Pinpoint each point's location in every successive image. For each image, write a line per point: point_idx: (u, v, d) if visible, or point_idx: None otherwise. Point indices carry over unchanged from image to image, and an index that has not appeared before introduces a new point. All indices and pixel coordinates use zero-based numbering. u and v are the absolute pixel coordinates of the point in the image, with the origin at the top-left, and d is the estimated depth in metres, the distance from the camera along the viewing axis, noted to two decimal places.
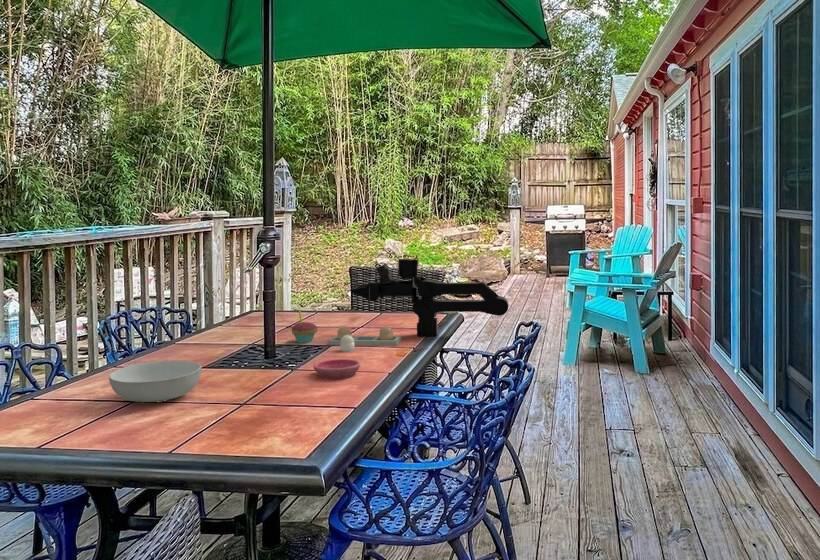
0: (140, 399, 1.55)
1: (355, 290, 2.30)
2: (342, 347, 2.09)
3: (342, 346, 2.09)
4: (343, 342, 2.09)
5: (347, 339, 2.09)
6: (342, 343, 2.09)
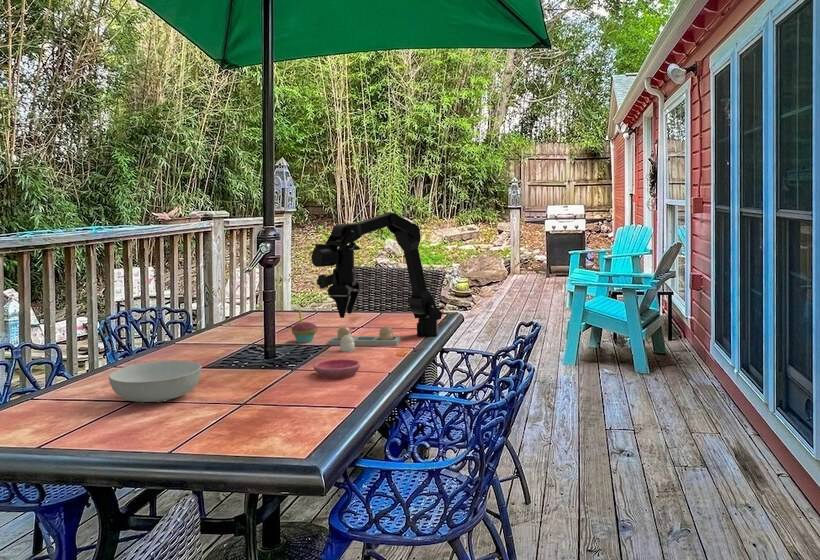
0: (140, 399, 1.55)
1: (340, 312, 2.05)
2: (342, 347, 2.09)
3: (342, 346, 2.09)
4: (343, 342, 2.09)
5: (347, 339, 2.09)
6: (342, 343, 2.09)
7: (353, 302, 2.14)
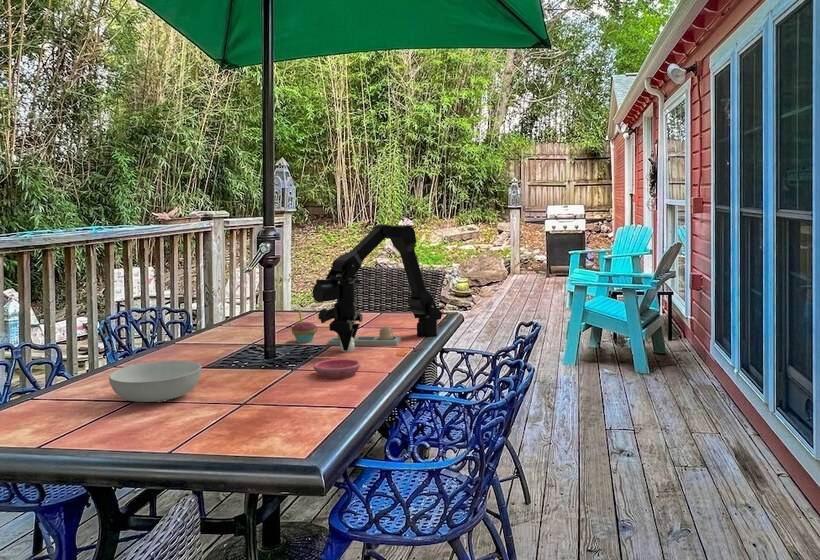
0: (140, 399, 1.55)
1: (344, 345, 2.08)
2: (342, 347, 2.09)
3: (342, 346, 2.09)
4: None
5: None
6: None
7: (353, 336, 2.13)
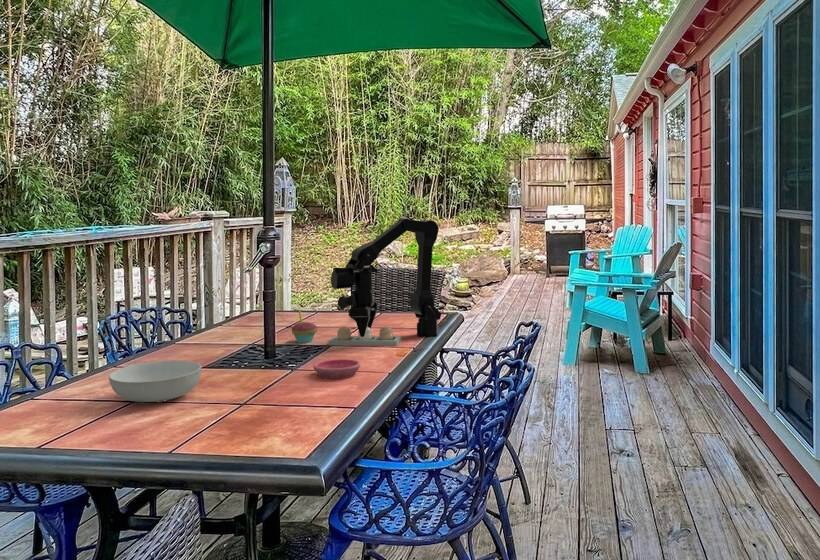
0: (140, 399, 1.55)
1: (361, 332, 2.17)
2: (360, 337, 2.21)
3: (360, 337, 2.21)
4: None
5: None
6: None
7: (371, 321, 2.26)
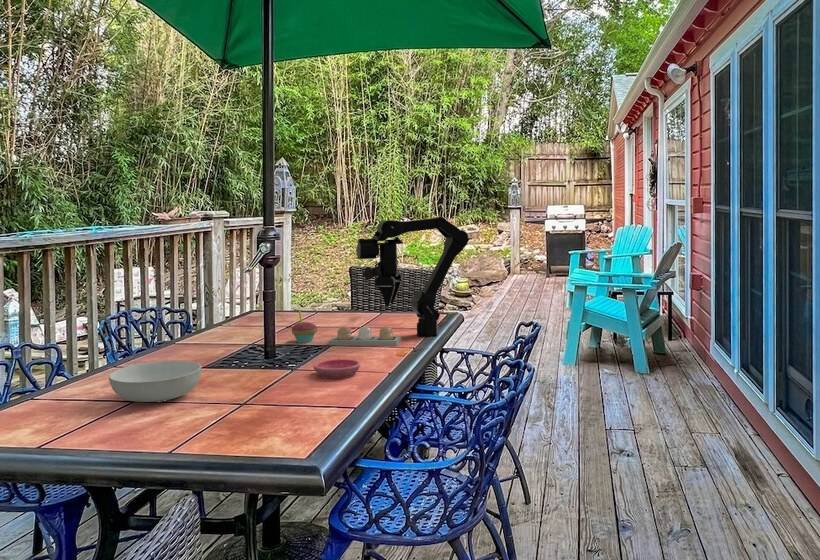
0: (140, 399, 1.55)
1: (386, 301, 2.23)
2: (360, 337, 2.21)
3: (360, 337, 2.21)
4: (361, 333, 2.20)
5: (365, 330, 2.20)
6: (360, 334, 2.20)
7: (395, 292, 2.32)
